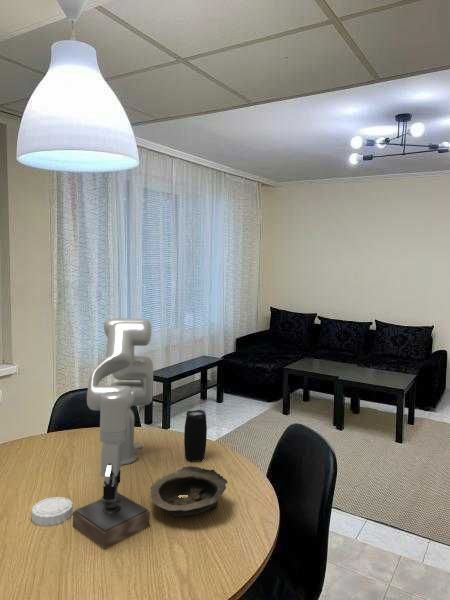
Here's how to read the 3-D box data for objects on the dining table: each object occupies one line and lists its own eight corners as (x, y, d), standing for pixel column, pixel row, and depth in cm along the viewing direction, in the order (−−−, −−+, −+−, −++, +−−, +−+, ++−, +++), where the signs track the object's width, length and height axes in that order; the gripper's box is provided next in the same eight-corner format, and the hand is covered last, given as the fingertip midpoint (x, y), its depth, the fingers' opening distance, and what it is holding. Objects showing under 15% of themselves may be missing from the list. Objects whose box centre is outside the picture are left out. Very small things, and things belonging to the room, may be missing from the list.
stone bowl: (235, 496, 154) (236, 470, 152) (209, 542, 130) (209, 512, 129) (170, 481, 162) (170, 457, 160) (134, 522, 138) (134, 494, 137)
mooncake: (31, 509, 141) (31, 498, 141) (71, 503, 146) (71, 492, 146) (31, 530, 131) (31, 518, 130) (74, 522, 135) (74, 510, 135)
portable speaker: (179, 460, 182) (180, 412, 181) (193, 452, 190) (194, 407, 189) (196, 465, 177) (197, 417, 176) (210, 457, 185) (211, 411, 184)
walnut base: (117, 506, 145) (117, 491, 145) (149, 525, 134) (149, 509, 134) (72, 526, 133) (72, 510, 132) (104, 549, 122) (104, 531, 122)
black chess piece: (116, 515, 130) (117, 475, 129) (97, 512, 131) (98, 473, 131) (125, 505, 136) (125, 467, 135) (107, 503, 137) (107, 464, 136)
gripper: (105, 424, 140) (104, 477, 141) (93, 445, 123) (92, 506, 124) (129, 424, 141) (128, 477, 142) (121, 446, 124) (120, 505, 125)
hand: (112, 490), depth 133 cm, fingers open, 9 cm apart
